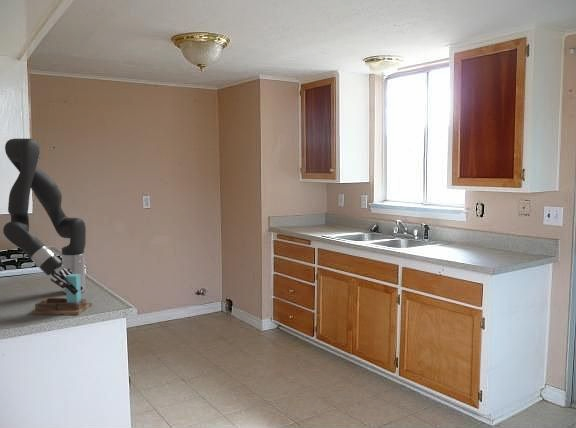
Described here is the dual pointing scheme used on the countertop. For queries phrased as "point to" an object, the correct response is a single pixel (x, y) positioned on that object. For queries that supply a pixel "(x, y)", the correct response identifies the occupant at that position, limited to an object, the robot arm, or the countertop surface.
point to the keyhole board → (60, 306)
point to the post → (76, 282)
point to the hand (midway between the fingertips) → (78, 291)
